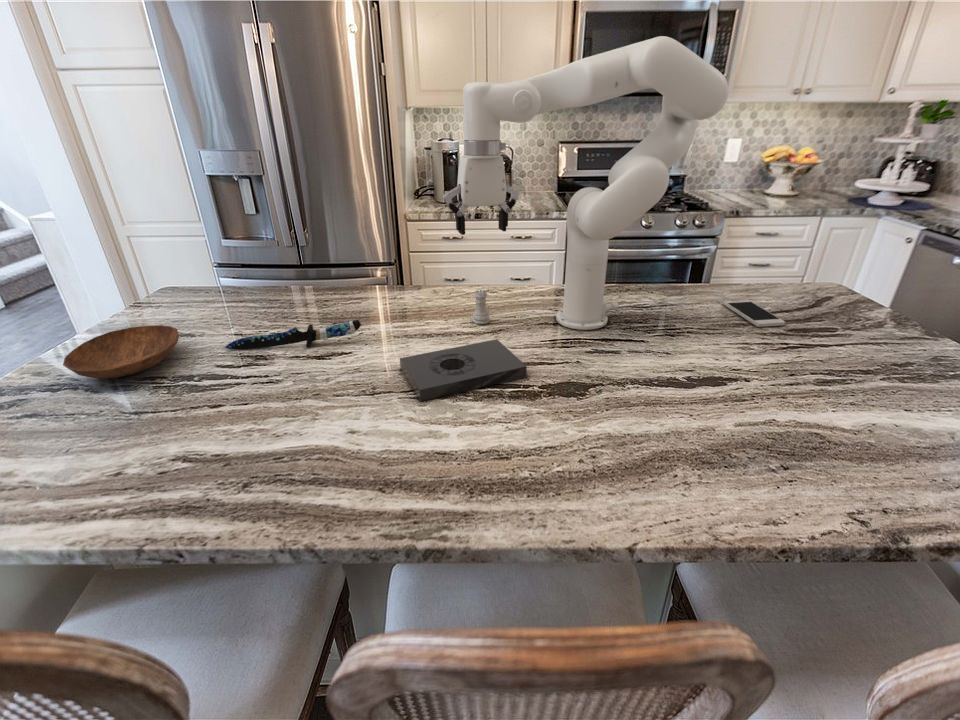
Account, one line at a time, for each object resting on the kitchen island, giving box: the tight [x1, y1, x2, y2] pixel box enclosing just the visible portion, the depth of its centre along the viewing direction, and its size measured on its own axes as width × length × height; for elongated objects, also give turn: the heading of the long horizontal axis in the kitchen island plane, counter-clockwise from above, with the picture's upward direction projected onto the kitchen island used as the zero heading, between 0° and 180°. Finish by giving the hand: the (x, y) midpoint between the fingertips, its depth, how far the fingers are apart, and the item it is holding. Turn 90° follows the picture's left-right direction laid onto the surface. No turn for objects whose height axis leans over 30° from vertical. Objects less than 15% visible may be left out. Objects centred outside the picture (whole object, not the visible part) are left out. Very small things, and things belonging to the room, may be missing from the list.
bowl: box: [62, 324, 180, 380], centre depth 105 cm, size 20×22×5 cm
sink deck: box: [399, 339, 528, 402], centre depth 100 cm, size 22×14×2 cm, turn 113°
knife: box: [225, 319, 362, 351], centre depth 113 cm, size 31×3×4 cm, turn 93°
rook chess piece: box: [472, 289, 491, 326], centre depth 123 cm, size 4×4×8 cm
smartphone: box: [723, 299, 786, 328], centre depth 126 cm, size 7×15×1 cm, turn 6°
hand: (482, 231), depth 112 cm, fingers open, 9 cm apart
